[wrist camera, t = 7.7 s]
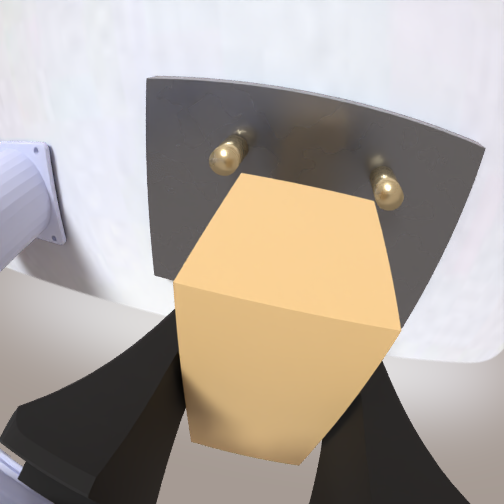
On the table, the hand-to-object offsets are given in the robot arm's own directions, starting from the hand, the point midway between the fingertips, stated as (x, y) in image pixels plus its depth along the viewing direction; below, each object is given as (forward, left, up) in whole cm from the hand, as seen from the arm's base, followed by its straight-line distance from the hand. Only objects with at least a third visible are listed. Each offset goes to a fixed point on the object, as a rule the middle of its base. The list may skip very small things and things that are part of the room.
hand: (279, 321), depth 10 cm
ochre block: (0, 0, -2) cm, 2 cm away
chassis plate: (0, 0, -8) cm, 8 cm away
